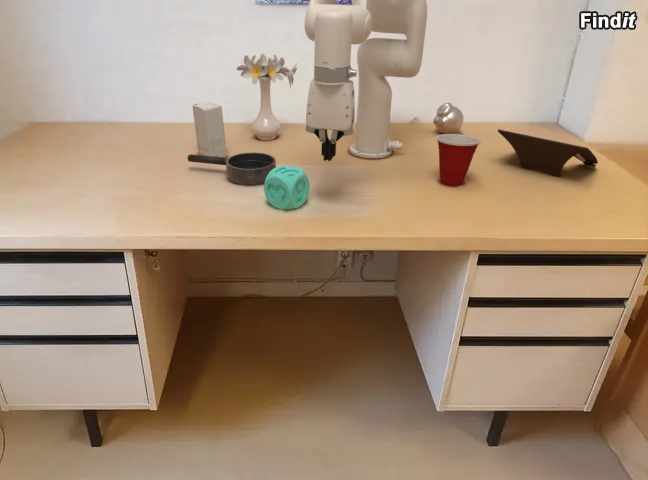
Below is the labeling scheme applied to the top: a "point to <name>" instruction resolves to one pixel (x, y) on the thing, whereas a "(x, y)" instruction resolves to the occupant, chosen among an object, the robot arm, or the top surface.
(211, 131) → the cosmetic box
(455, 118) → the silver rounded lump
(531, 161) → the laptop tray
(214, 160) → the pan handle
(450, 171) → the plastic cup
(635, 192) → the top surface
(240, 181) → the pan
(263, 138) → the flower vase
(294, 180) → the decorative dice
